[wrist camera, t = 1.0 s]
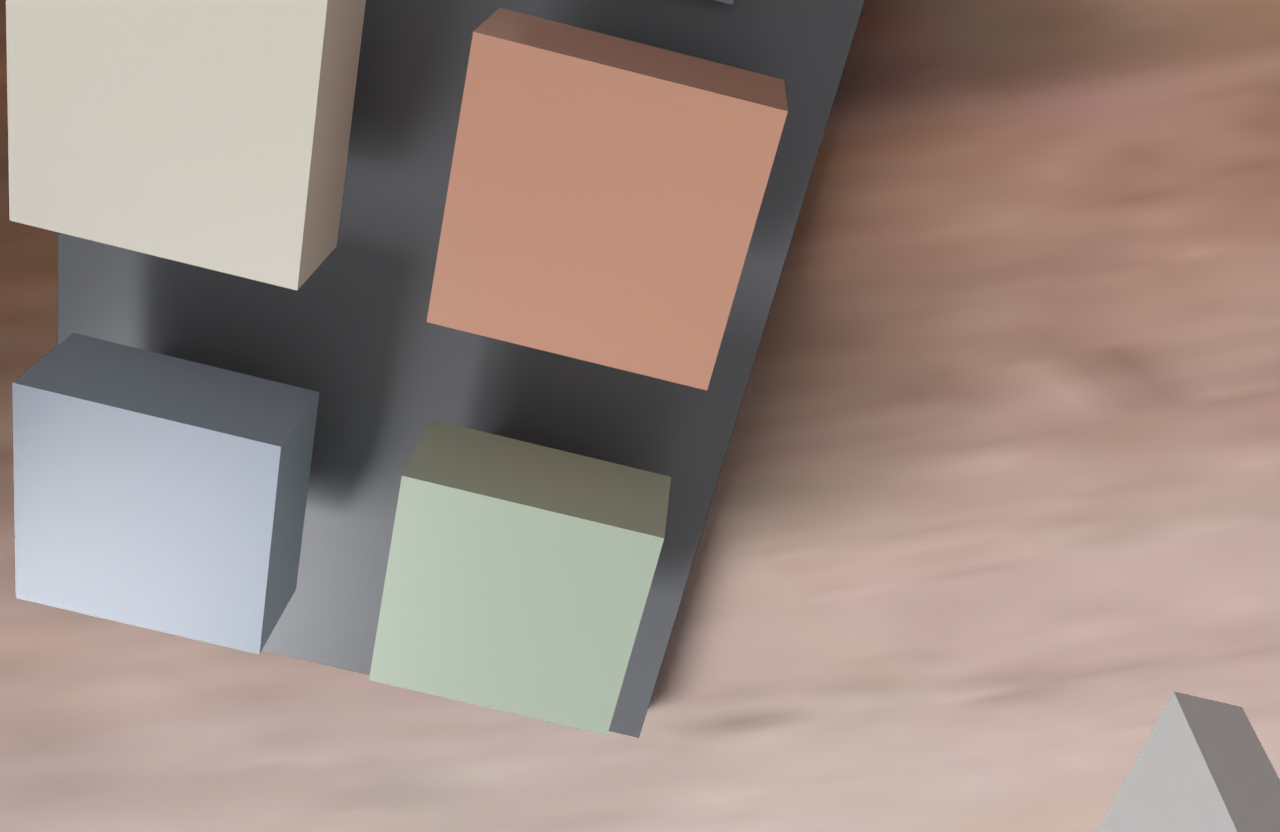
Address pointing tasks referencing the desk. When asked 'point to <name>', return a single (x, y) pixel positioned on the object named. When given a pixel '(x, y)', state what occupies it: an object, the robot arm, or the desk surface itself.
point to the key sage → (517, 576)
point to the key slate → (160, 491)
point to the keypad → (457, 360)
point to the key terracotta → (602, 196)
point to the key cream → (185, 127)
